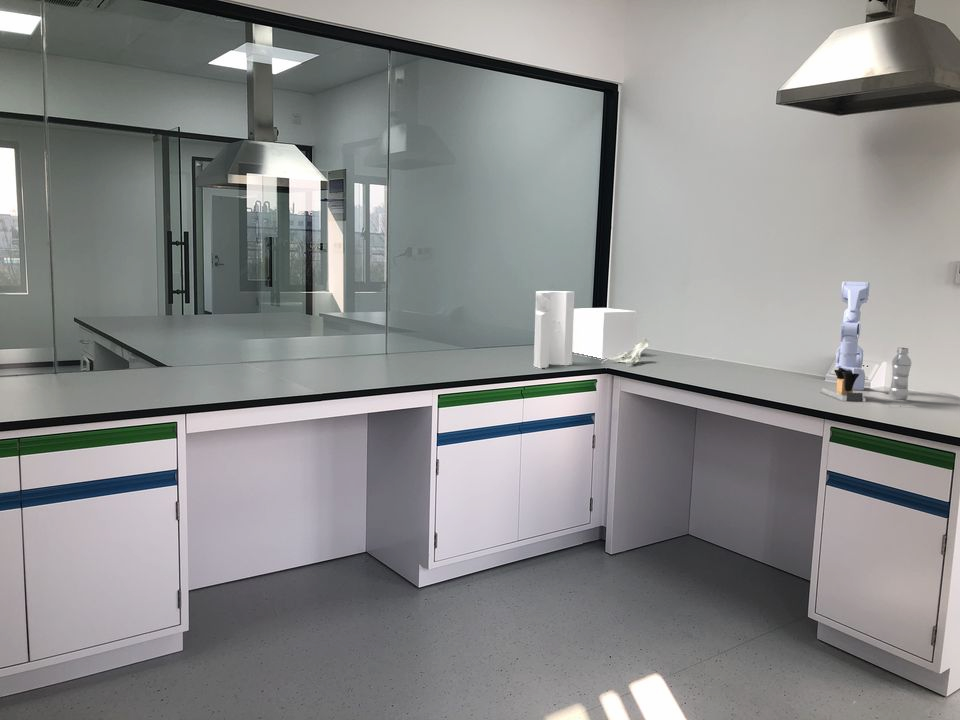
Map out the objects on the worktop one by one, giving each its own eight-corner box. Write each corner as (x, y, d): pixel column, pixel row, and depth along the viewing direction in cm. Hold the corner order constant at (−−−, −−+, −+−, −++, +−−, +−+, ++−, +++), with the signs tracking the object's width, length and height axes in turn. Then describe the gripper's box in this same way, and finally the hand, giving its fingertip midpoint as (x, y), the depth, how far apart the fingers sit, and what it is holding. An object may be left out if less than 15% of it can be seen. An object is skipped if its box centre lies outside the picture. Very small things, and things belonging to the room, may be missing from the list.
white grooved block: (573, 365, 364) (541, 369, 351) (556, 362, 373) (524, 366, 360) (575, 292, 359) (543, 292, 346) (558, 290, 368) (526, 291, 355)
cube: (634, 358, 397) (636, 311, 394) (602, 360, 387) (604, 312, 383) (603, 352, 419) (605, 307, 415) (572, 354, 408) (573, 308, 405)
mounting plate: (843, 394, 300) (844, 385, 299) (866, 403, 282) (867, 393, 281) (819, 394, 300) (820, 384, 299) (840, 403, 282) (841, 393, 281)
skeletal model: (600, 363, 373) (626, 327, 382) (608, 376, 377) (634, 340, 387) (625, 367, 360) (652, 329, 369) (634, 380, 365) (660, 342, 374)
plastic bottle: (901, 398, 293) (906, 347, 291) (911, 402, 287) (916, 349, 284) (884, 398, 293) (889, 346, 290) (894, 402, 286) (899, 349, 284)
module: (847, 394, 292) (848, 378, 291) (852, 396, 288) (853, 380, 287) (836, 394, 292) (837, 378, 291) (841, 396, 288) (842, 380, 287)
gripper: (828, 351, 295) (826, 386, 297) (846, 356, 280) (843, 392, 282) (847, 351, 295) (844, 386, 297) (865, 356, 280) (862, 393, 282)
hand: (845, 389), depth 289 cm, fingers closed on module, 4 cm apart
